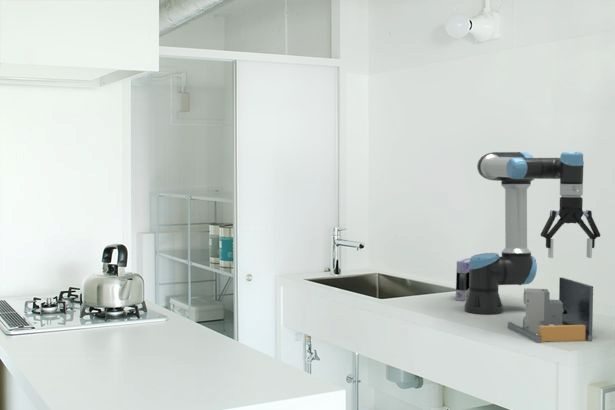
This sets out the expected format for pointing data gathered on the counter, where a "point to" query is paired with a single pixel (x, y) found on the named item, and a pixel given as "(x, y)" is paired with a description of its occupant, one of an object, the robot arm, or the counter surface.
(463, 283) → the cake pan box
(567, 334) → the orange rectangular bar
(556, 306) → the circuit breaker
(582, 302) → the dark grey piece
